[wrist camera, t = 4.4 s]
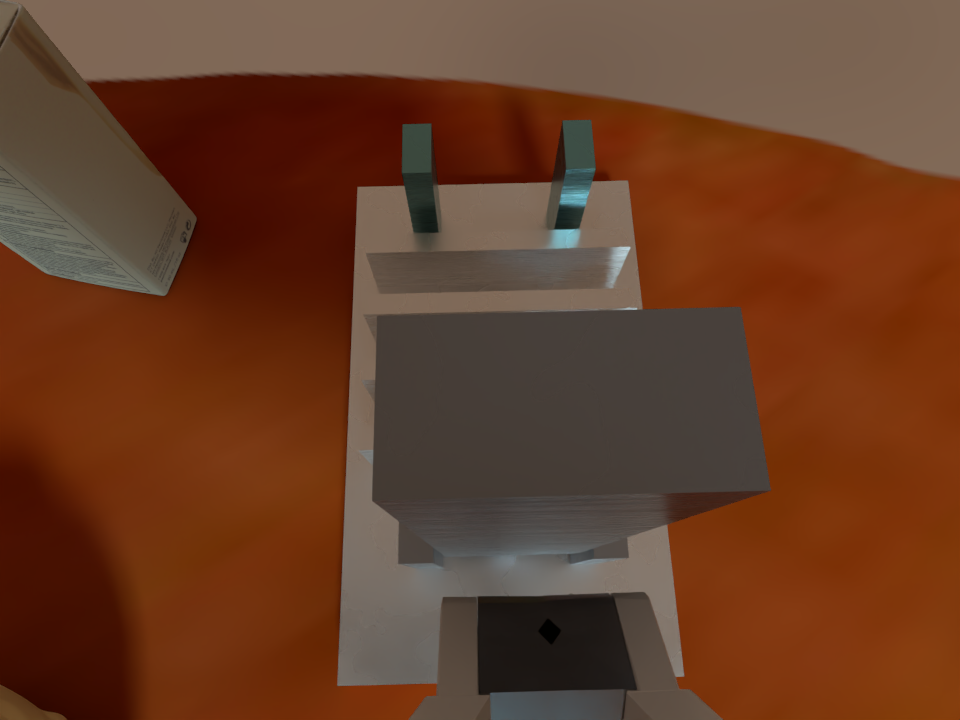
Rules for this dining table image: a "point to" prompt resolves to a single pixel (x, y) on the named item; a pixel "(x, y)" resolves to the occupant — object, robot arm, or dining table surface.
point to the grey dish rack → (469, 290)
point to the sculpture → (22, 708)
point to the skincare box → (78, 175)
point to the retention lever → (561, 425)
